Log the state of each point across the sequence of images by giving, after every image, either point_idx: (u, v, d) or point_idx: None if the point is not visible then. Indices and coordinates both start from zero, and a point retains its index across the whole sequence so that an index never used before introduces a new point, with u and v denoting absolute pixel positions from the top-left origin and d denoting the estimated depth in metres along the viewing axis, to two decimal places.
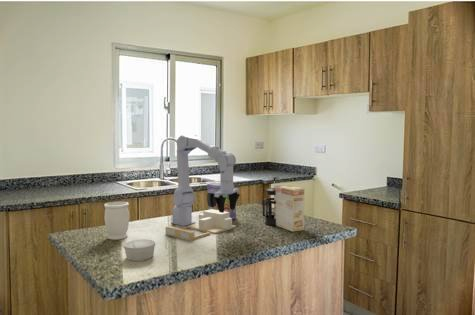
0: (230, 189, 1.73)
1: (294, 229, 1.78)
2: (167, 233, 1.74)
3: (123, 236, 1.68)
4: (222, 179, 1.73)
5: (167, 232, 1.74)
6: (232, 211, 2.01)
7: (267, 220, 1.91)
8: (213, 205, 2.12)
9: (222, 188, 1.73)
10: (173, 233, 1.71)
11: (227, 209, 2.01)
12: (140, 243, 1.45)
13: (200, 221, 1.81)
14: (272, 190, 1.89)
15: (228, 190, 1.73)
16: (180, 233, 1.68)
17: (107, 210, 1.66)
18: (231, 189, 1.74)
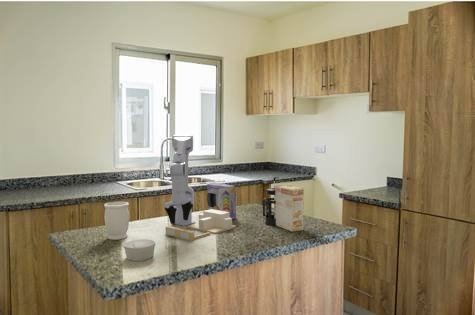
0: (181, 199, 1.67)
1: (293, 229, 1.78)
2: (167, 233, 1.74)
3: (123, 236, 1.68)
4: None
5: (167, 232, 1.74)
6: (232, 211, 2.01)
7: (267, 220, 1.91)
8: (213, 205, 2.12)
9: (173, 198, 1.67)
10: (173, 233, 1.71)
11: (227, 209, 2.01)
12: (140, 243, 1.45)
13: (200, 221, 1.81)
14: (272, 190, 1.89)
15: (179, 200, 1.67)
16: (180, 233, 1.68)
17: (107, 210, 1.66)
18: (183, 199, 1.67)
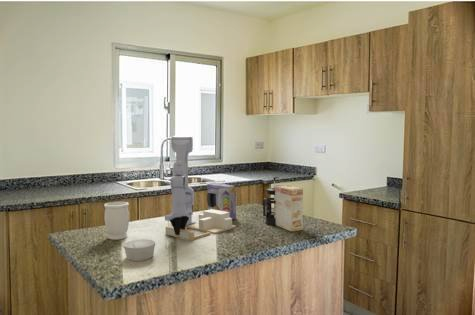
0: (182, 212, 1.67)
1: (292, 229, 1.79)
2: (167, 233, 1.74)
3: (123, 236, 1.68)
4: None
5: (167, 232, 1.74)
6: (232, 211, 2.01)
7: (267, 220, 1.92)
8: (213, 205, 2.12)
9: (173, 210, 1.68)
10: (173, 233, 1.71)
11: (227, 209, 2.01)
12: (140, 243, 1.45)
13: (200, 221, 1.81)
14: (272, 190, 1.90)
15: (179, 213, 1.67)
16: (180, 233, 1.68)
17: (107, 210, 1.66)
18: (183, 212, 1.68)
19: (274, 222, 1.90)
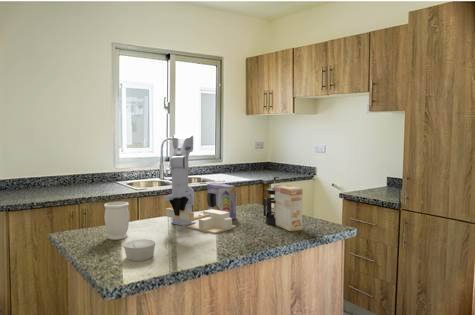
0: (181, 192, 1.67)
1: (292, 229, 1.79)
2: (167, 215, 1.73)
3: (123, 236, 1.68)
4: None
5: (167, 214, 1.73)
6: (232, 211, 2.01)
7: (267, 219, 1.92)
8: (213, 205, 2.12)
9: (173, 191, 1.67)
10: (172, 214, 1.71)
11: (227, 209, 2.01)
12: (140, 243, 1.45)
13: (200, 221, 1.81)
14: (272, 190, 1.90)
15: (179, 193, 1.66)
16: (180, 214, 1.68)
17: (107, 210, 1.66)
18: (183, 192, 1.67)
19: (274, 222, 1.90)
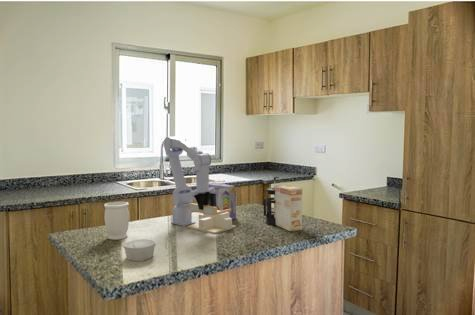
0: (205, 188, 1.78)
1: (291, 229, 1.79)
2: (191, 209, 1.85)
3: (123, 236, 1.68)
4: (197, 178, 1.78)
5: (191, 208, 1.85)
6: (232, 211, 2.01)
7: (267, 219, 1.92)
8: (213, 205, 2.12)
9: (197, 186, 1.79)
10: (196, 209, 1.82)
11: None
12: (140, 243, 1.45)
13: (200, 221, 1.81)
14: (272, 189, 1.91)
15: (203, 189, 1.78)
16: (204, 209, 1.79)
17: (107, 210, 1.66)
18: (206, 188, 1.79)
19: (274, 222, 1.90)
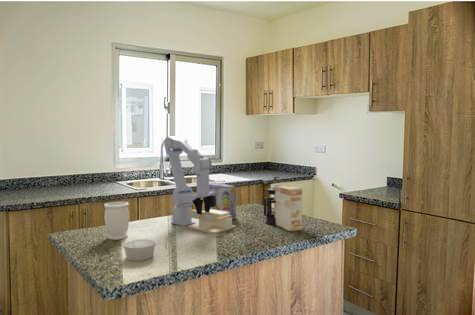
0: (206, 192, 1.79)
1: (291, 229, 1.79)
2: (191, 216, 1.85)
3: (123, 236, 1.68)
4: (197, 182, 1.79)
5: (191, 215, 1.85)
6: (232, 211, 2.01)
7: (267, 219, 1.92)
8: (213, 205, 2.12)
9: (198, 191, 1.79)
10: (197, 216, 1.83)
11: (227, 209, 2.01)
12: (140, 243, 1.45)
13: (200, 221, 1.81)
14: (272, 189, 1.91)
15: (204, 193, 1.78)
16: (205, 215, 1.79)
17: (107, 210, 1.66)
18: (207, 192, 1.79)
19: (274, 222, 1.90)
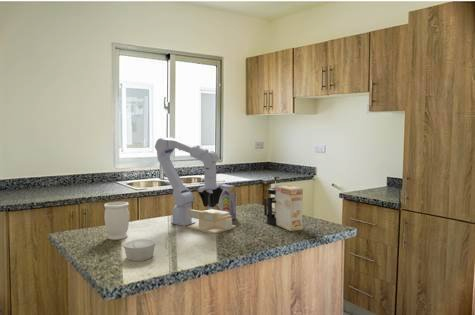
0: (213, 184, 1.85)
1: (292, 228, 1.79)
2: (191, 216, 1.85)
3: (123, 236, 1.68)
4: (207, 175, 1.84)
5: (191, 215, 1.85)
6: (232, 211, 2.01)
7: (268, 219, 1.93)
8: (213, 205, 2.12)
9: (205, 183, 1.85)
10: (197, 216, 1.83)
11: (227, 209, 2.01)
12: (140, 243, 1.45)
13: (200, 221, 1.81)
14: (272, 189, 1.91)
15: (211, 185, 1.85)
16: (205, 215, 1.79)
17: (107, 210, 1.66)
18: (214, 184, 1.85)
19: (275, 222, 1.90)
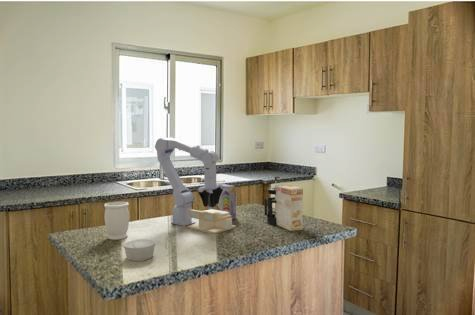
0: (213, 184, 1.85)
1: (292, 228, 1.79)
2: (191, 216, 1.85)
3: (123, 236, 1.68)
4: (207, 175, 1.84)
5: (191, 215, 1.85)
6: (232, 211, 2.01)
7: (268, 219, 1.93)
8: (213, 205, 2.12)
9: (205, 183, 1.85)
10: (197, 216, 1.83)
11: (227, 209, 2.01)
12: (140, 243, 1.45)
13: (200, 221, 1.81)
14: (273, 189, 1.91)
15: (211, 185, 1.85)
16: (205, 215, 1.79)
17: (107, 210, 1.66)
18: (214, 184, 1.85)
19: (275, 221, 1.91)
